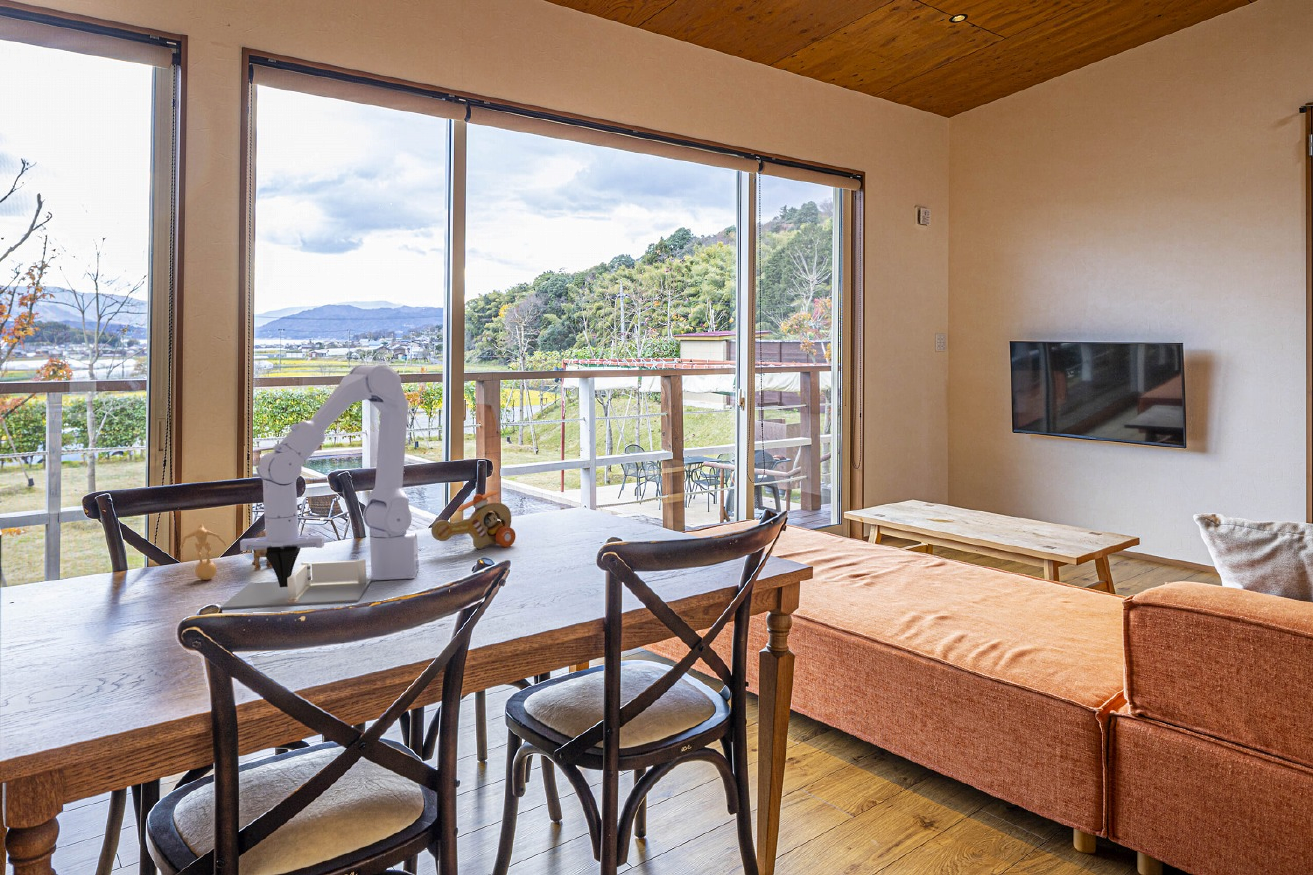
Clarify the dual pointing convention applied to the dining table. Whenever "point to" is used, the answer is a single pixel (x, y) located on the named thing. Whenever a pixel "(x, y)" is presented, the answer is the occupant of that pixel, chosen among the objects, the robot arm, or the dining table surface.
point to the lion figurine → (260, 553)
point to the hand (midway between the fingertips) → (285, 585)
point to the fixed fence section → (337, 571)
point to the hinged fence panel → (297, 581)
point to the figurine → (204, 568)
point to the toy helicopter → (480, 523)
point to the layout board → (312, 594)
